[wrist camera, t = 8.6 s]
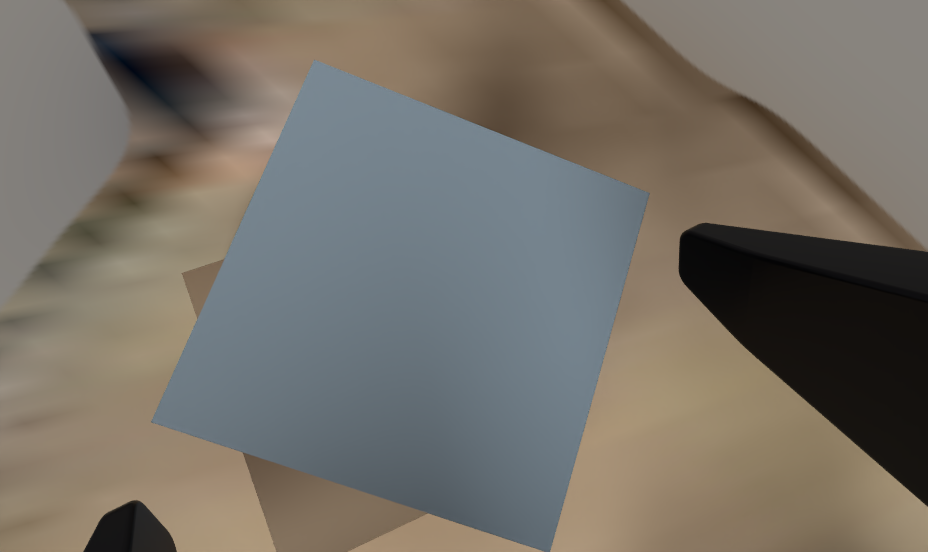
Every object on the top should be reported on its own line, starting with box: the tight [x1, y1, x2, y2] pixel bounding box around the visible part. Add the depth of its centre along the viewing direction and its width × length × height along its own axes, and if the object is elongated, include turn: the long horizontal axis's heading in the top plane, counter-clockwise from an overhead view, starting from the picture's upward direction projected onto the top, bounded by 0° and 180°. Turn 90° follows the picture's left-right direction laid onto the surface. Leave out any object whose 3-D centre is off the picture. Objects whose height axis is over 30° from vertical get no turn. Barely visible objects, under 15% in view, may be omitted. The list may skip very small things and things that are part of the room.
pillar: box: [151, 60, 650, 552], centre depth 12 cm, size 4×4×11 cm
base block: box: [182, 260, 427, 552], centre depth 19 cm, size 9×9×4 cm
